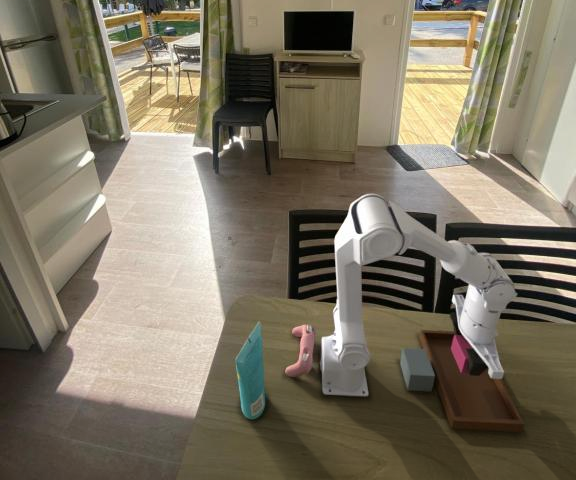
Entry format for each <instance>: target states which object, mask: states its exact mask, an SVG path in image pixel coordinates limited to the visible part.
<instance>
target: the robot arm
mask: <svg viewBox="0 0 576 480" xmlns="http://www.w3.org/2000/svg"><path fill="white" fill-rule="evenodd" d="M388 203H389V204H388ZM389 205H390V206H389ZM410 247H413V248H415V249H417V250H419V251H420V252H423V253H425V254H427V255H429V256H430V257H431V256H432V257H433V258H435V259H437V260H439V262H440V265H441V267H442V268H443V269H444V270H445V271H446V272H448V273H449V274H451V275H453V276H454V277H456V278H458V279H459V280H461V281H463V282H464V283H467V284H468V286H467V291H466V295H465V297H464V295H463V294H453V295H452V298H451V302H452V304H453V305H454V306H455V312H450V313H449V317H450V320H451V323H452V327H453V331H454V334H455V335H463V336H464V337H465V339H466V340H467V341H468V342H469V344H470V345H471V346H472V347H473V348H474V349H470V348H466V351H467V354H468V372H469V375H473V376H480V375H481V374H482V373H483V372H484V371H485V370H486V369H488V368H489V370H488V374H489V375H490V377H491V378H493V379H501V380H502V379H503V378H504V374H505V370H504V369H503V368H504V367H503V366H502V364H501V359H500V356H499V351H498V348H497V344H496V339H495V338H498V337H499V332H498V330H497V326H498V324H499V320H500V318H501V313H502V312H503V311H504V310H506V308H507V305H508V304H510V303H511V302H512V301H514V300H515V298H517V296H518V292H516V290H515V289H516V287H515V283H514V282H513V280H512V279H511V278H510V277H509V275H508V274H507V273H506V271H505V270H504V268H502V267H503V266H501V265H500V263H499V262H498V260H497V259H495V257H494V256H493V255H492V254H491V253H489V252H478V251H477V249H475V247H474V246H473V245H471V244H470V243H467V244H464V243H462V242H461V241H459V240H455V239H452V240H448V241H447V240H446V239H444V238H443V237H442V236H440V235H438V234H437V233H436V232H434V231H433V230H432V229H430V228H428V227H427V226H425V225H424V224H422V223H421V222H420V221H418V220H417V219H415V218H414V217H412V216H410V214H408V213H407V212H406V211H405V210H403V209H402V208H401V207H400V206H399V205H397V204H396V203H395V202H393V201H390V200H388V202H387V200H386V198H385V197H383V196H382V195H381V194H378V193H366V194H363V195H362V196H360V197H359V198H357V199H356V200H354V201H353V202H352V203H350V205H349V208H348V212H347V216H346V217H345V219H344V221H343V223H342V224H341V225H340V228H339V230H338V231H337V232H336V234H335V237H334V261H335V277H336V279H335V281H336V305H335V307H334V309H333V311H332V317H333V322H334V331H333V334H331V335H328V336H322V337H321V346H320V360H319V369H320V370H319V371H320V372H321V386H322V393H323V395H327V396H345V397H368V396H369V390H368V383H367V377H366V371H365V368H366V366H368V364H369V363H370V361H371V353H370V351H369V348H368V342H367V337H366V332H365V327H364V323H363V322H364V321H363V289H362V288H363V286H362V285H363V284H362V282H363V281H362V267H363V266H365V265H369V264H372V263H375V262H378V261H381V260H384V259H387V258H390V257H393V256H394V255H396V254H398V256H401V255H403V254H404V253H405V252H406V251H407V250H408V249H409V248H410Z"/></svg>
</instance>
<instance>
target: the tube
mask: <svg viewBox="0 0 576 480" xmlns="http://www.w3.org/2000/svg"><path fill="white" fill-rule="evenodd" d="M262 334H263V333H262V323H261V321H260V320H259V321H258V322H257V324H256V325H255V327H254V328H253V330H252V331H251V333H250V334H249V336H248V337H247V339H246V340H245V342H244V344H243V346H242V347H241V349H240V351H239V353H238V354H237V356H236V358H235V360H234V361H235V367H236V375H237V381H238V389H239V396H240V407H241V412H242V414H243V415H244V417H245V418H246V419H249V420H255V419H258V418H259V417H260V416H261V415H262V414H263V412H264V411H265V407H266V389H265V388H266V387H265V371H264V370H265V369H264V354H263V353H264V352H263V337H262Z"/></svg>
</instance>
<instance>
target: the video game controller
mask: <svg viewBox="0 0 576 480" xmlns="http://www.w3.org/2000/svg"><path fill="white" fill-rule="evenodd" d="M316 332H317V329H316V327H315V326H314V325H312V324H308V323H306V324H302V325H299V326H295V327H294V328H293V329H292V331H291V333H292V335H293V336H295V337H296V338H300V343H299V349H300V350H299V356H298V360H297V362H295V363H294V364H291V365H289V366H287V367H286V368H285V370H284V372H285V375H286V376H287V377H290V378H298V377H301V376H304V375H308V374H309V372H310V371H311V370H312V369H313V366H314V365H313V364H314V362H313V353H314V346H315V338H316V337H315V336H316Z"/></svg>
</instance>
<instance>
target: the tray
mask: <svg viewBox="0 0 576 480" xmlns="http://www.w3.org/2000/svg"><path fill="white" fill-rule="evenodd" d="M454 335H455V334H454V330H429V329H420V330H419V341H420V343H421V346H422V349H426V352H427V355H428V358H429V360H430V363H431V366H432V369H433V372H434V374H435V379H434V383H435V387H436V389H437V392H438V394H439V397H440V401H441V404H442V406H443V409H444V411H445V415H446V417H447V420H448V424H449V426H450V429H452V430H472V431H490V432H507V433H508V432H509V433H510V432H511V433H522V432H523V429H524V427H525V422H524V419H523V418H522V416H521V414H520V412H519V411H518V409H517V406H516V404H515V403H514V401H513V399H512V398H511V396H510V393H509V391H508V390H507V388H506V386H505V384H504V382H503V380H502V379H493V378H491V377H490V375H489V374H488V370H489V368H488V369H486V370H485V372H484V374H481V375H480V376H473V375H469V374H463V373H461V371H460V369H459V367H458V364H457V362H456V360H455V358H454V355H453V353H452V351H451V346H452V342H453V338H454Z"/></svg>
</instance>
